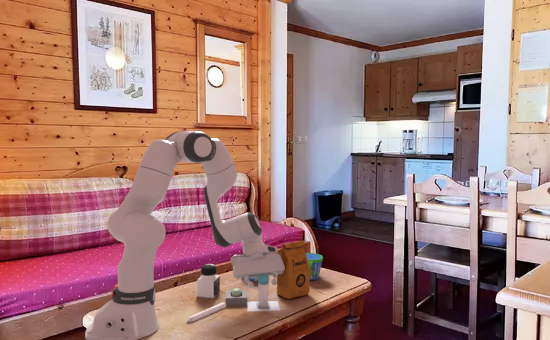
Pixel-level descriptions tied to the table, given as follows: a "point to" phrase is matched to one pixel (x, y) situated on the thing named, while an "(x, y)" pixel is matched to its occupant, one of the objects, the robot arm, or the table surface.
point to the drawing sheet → (271, 307)
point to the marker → (206, 312)
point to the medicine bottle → (208, 282)
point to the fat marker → (263, 290)
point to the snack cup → (314, 265)
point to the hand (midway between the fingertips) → (263, 285)
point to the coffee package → (294, 271)
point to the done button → (236, 292)
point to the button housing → (236, 298)
